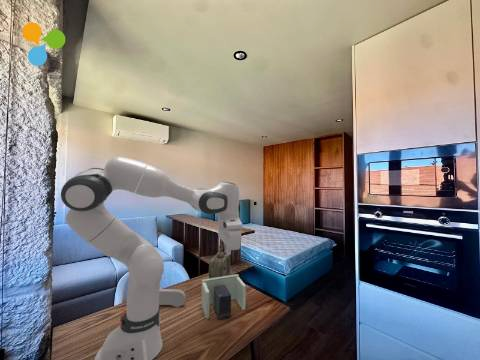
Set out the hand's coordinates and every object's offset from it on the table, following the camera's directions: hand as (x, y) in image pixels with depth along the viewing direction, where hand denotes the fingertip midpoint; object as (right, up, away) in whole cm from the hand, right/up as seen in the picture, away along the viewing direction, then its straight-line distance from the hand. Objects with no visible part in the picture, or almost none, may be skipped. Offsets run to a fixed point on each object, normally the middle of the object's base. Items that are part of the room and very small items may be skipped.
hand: (227, 253), depth 85 cm
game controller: (-33, -34, +19) cm, 51 cm away
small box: (-4, -34, +15) cm, 38 cm away
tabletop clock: (-8, -34, +41) cm, 54 cm away
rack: (-4, -34, +19) cm, 39 cm away
